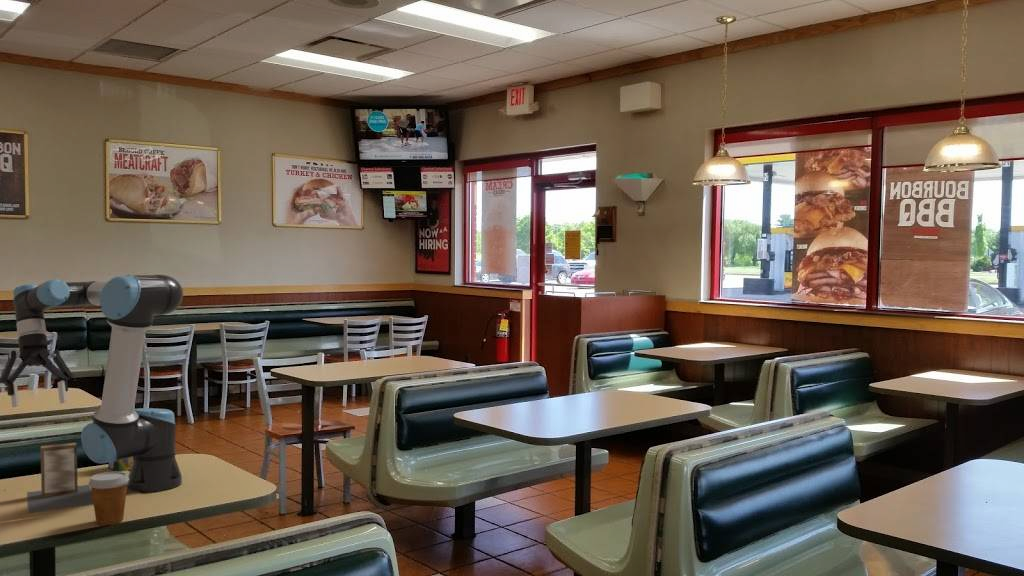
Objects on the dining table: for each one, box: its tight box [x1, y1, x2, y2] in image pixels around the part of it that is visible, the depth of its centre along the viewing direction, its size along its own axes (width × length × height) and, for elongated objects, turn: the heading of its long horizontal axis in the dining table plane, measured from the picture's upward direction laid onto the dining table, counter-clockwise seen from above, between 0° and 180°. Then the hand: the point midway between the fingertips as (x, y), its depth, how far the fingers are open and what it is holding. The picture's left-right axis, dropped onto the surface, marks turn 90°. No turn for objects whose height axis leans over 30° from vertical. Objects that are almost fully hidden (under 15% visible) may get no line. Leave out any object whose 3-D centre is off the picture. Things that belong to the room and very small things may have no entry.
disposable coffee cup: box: [88, 471, 129, 526], centre depth 217 cm, size 10×10×12 cm
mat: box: [26, 484, 94, 514], centre depth 236 cm, size 16×22×1 cm
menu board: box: [40, 442, 79, 497], centre depth 240 cm, size 9×3×14 cm, turn 121°
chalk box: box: [107, 457, 133, 472], centre depth 270 cm, size 9×9×15 cm
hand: (40, 404), depth 248 cm, fingers open, 13 cm apart
